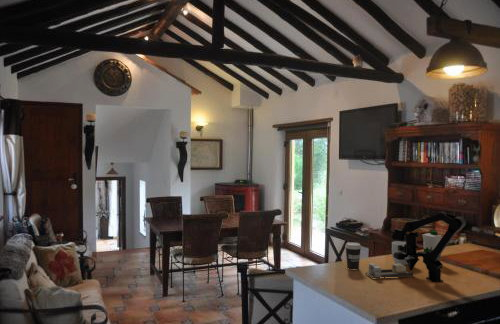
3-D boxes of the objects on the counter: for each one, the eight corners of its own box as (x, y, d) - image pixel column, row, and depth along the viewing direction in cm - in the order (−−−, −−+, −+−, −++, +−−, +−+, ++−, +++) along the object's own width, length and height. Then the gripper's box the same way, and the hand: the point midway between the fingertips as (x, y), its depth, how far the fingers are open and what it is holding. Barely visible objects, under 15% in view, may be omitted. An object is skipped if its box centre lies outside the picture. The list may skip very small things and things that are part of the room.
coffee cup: (343, 269, 235) (343, 244, 235) (347, 265, 244) (347, 241, 243) (359, 272, 231) (359, 246, 230) (362, 267, 239) (362, 243, 239)
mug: (419, 265, 243) (420, 244, 243) (411, 269, 236) (412, 247, 235) (396, 260, 254) (396, 240, 254) (388, 263, 247) (388, 243, 246)
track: (413, 277, 221) (413, 266, 221) (372, 279, 218) (372, 268, 217) (404, 272, 230) (404, 261, 230) (365, 274, 227) (365, 263, 226)
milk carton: (442, 264, 246) (442, 232, 245) (431, 265, 242) (432, 233, 242) (430, 260, 254) (430, 229, 253) (420, 262, 250) (420, 230, 250)
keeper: (405, 274, 222) (406, 266, 222) (397, 274, 221) (397, 266, 221) (400, 271, 228) (400, 263, 228) (392, 271, 227) (392, 263, 227)
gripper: (418, 239, 234) (418, 265, 235) (389, 240, 232) (388, 266, 232) (429, 243, 223) (429, 271, 224) (398, 245, 221) (398, 272, 221)
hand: (411, 270), depth 225 cm, fingers closed
